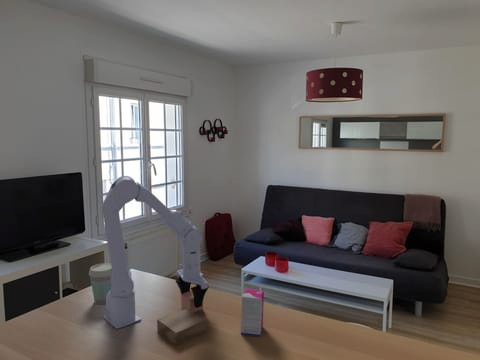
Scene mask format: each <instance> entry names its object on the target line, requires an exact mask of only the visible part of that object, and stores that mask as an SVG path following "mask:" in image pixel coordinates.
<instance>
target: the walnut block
mask: <svg viewBox="0 0 480 360" xmlns="http://www.w3.org/2000/svg"><path fill="white" fill-rule="evenodd" d="M206 321H207V320H206V319H204V318H203V317H201V316H199V315H198V314H196V313H195V312H194V313H193V312H191V311H189V310H188V309H186V308H185V309H180V310H178V311H175V312H172V313H170V314H168V315H165V316H163V317H159V318H157V319H156V323H157V324H156V326H157V327H156V328H157V329H156V331H157V332H158V333H159V334H161V335H162V336H163V337H165V338H166V339H167V340H168V341H170V342H171V343H172V344H174V345H175V346H179V345H180V344H183V343H185V342H187V341H189V340H192V339H194V338H196V337H198V336H201V335H203V334H205V333H207V326H206V325H207V323H206Z"/></svg>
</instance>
